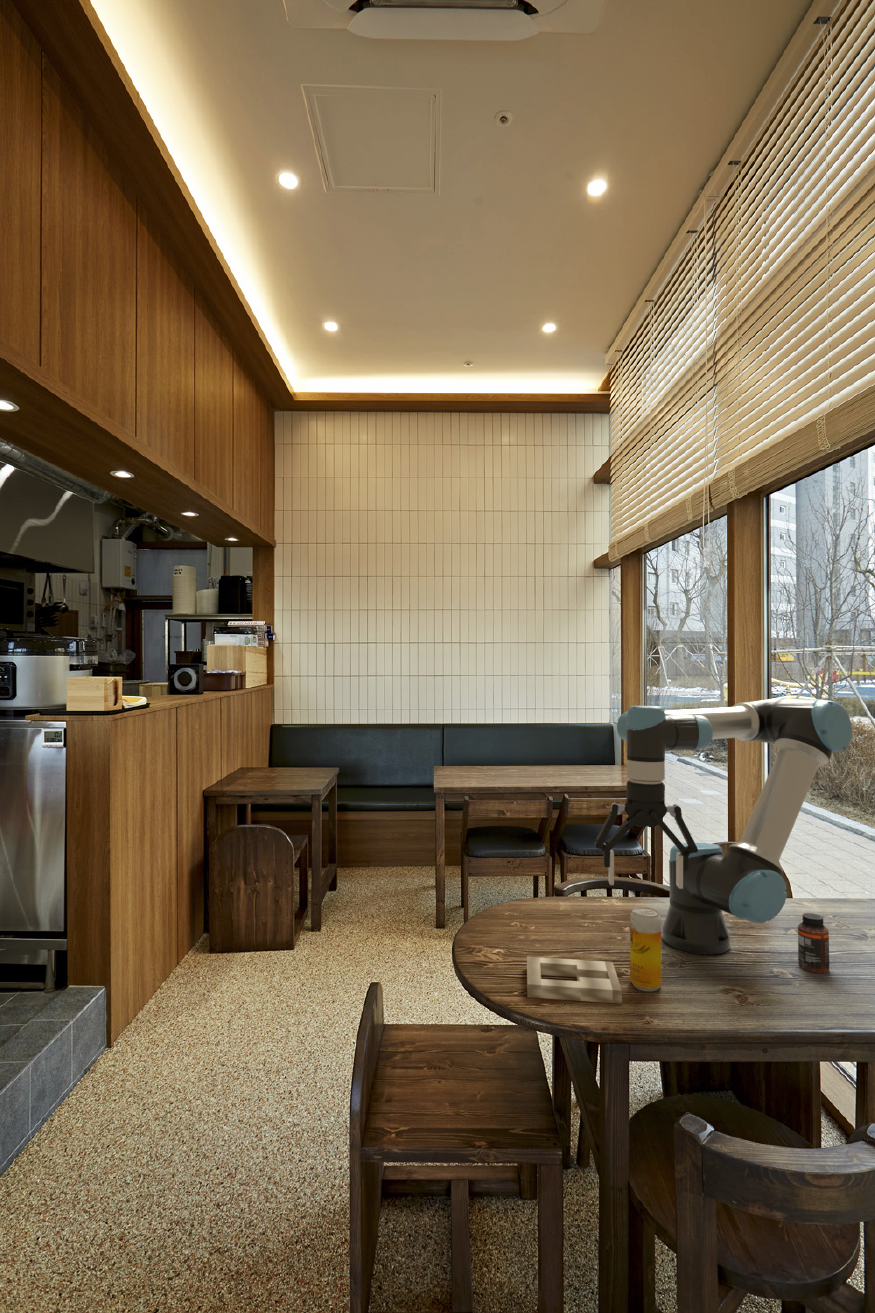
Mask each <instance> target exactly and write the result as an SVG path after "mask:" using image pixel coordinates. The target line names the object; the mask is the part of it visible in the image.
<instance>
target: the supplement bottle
mask: <svg viewBox="0 0 875 1313" xmlns="http://www.w3.org/2000/svg"><path fill="white" fill-rule="evenodd" d="M797 953H798V954H797V955H798V957H797V958H798V966H799V967H800V968H801V969H803V970H805V971H808V972H811V973H815V974H825V973H828V972H829V970H830V931H829V929H828V928H827V927H826V926H825V925H824V917H823V916H822V915H820V914H819V913H814V912H804V913H803V914H802V922H801V923H799V924H798V925H797Z"/></svg>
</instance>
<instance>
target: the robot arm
mask: <svg viewBox="0 0 875 1313" xmlns="http://www.w3.org/2000/svg"><path fill="white" fill-rule="evenodd" d="M616 732H617V734H618V736H619V738H620V739H621V740H622V741H623V742H625V743H626V778H627V779H628V780H627V781H626V801H625V804H619V803H617V802H614V801H613V802H611V803H610V807H609V813H608V815H607V817H606V819H605V821H604V823H603V825H602V826H601V829H600V830H599V832H598V834H597V836H596V838H595V840H594V846H595V848H596V849H599V850H602V851H603V852H602V854H603V857H602V858H603V859H602V864H603V866H604V868H608V876H607V877H608V884H609V886H614V885H615V852H614V850H613V848H614V847H615V846H617V844H618V843H619V842H620V840H622V838H623V837H625V835H626V834H627V833H628V832H629V831H630V830H631V829H632V828H633V827H634V826H637V827H638V828H644V827H648V828H655V827H656V826H659V828H660V829H661V830H662V831H663V832H664V833H665V835H666V836H667V837H668V838H669V840H670V841H671V842H672V843H673V844H674V845H673V846H672V847H671V848H670V851H669V852H670V853H669V860H668V863H669V864H668V865H669V866H668V870H669V907H668V910H667V913H666V916H665V919H664V922H663V924H662V926H661V940H663V942H664V943H666V944H668V945H669V946H670V947H672V948H674V949H678V950H680V951H682V952H687V953H691V954H698V955H720V954H723V953H726V952H728V951H729V950H730V948H731V938H730V932H729V930H728V927H727V924H726V921H725V918H724V915H723V912H724V913H727V914H730V915H731V916H735V918H738V919H739V920H742V921H747V922H750V923H754V924H763V923H766V922H769V921H772V920H773V919H775V918H776V916H778V914H780V912H781V911H782V910H783V908H784V906H785V903H786V900H787V896H788V894H787V891H786V890H787V883H786V882H785V880H784V878H783V873H784V869H783V866H782V865H781V862H780V859H781V857H782V855H783V852H784V850H785V847H786V844H787V843H788V840H789V838H790V835H791V832H792V830H793V828H794V826H795V823H796V821H797V818H798V816H799V814H800V812H801V809H802V806H803V804H804V802H805V799H806V797H807V794H808V792H809V790H810V787H811V786H812V782H813V780H814V778H815V775H816V773H817V771H818V768H820V767H822V766H826V765H828V763H829V762H830V759H831V757H832V754H833V753H842V752H843V751H846V749H847V748H849V746H850V744H851V742H852V738H853V737H852V736H853V724H852V722H851V718H850V715H849V713H848V711H847V710H846V709H845V707H844V706H843V705H841V704H840V703H839V702H836V701H834V700H826V699H822V698H816V699H810V698H809V699H806V698H804V699H803V698H788V697H787V698H786V697H776V698H768V699H761V700H755V701H753V700H752V701H747V702H746V701H744V702H738V703H735V704H734V705H732V706H727V707H707V708H706V707H705V708H691V709H690V708H689V709H687V708H685V709H670V710H669V709H668V710H667V709H666V710H665V708H664V707H663V706H660V705H659V706H657V705H632V706H630V707H628V709H627V711H625V712H623V713H622V714H621V715H620V716H619V717H618V719H617V723H616ZM719 739H721V740H722V739H737V740H738V741H742V742H750V741H751V742H752V741H753V742H761V743H767V744H773V745H775V747H776V749H777V751H778V753H777V755H776V757H775V759H774V762H773V763H772V766H771V768H770V771H769V773H768V776H767V777H766V780H765V782H764V785H763V787H762V789H761V791H760V794H759V796H758V798H757V800H756V803H755V806H754V807H753V809H752V812H751V815H750V816H749V819H748V821H747V824H746V826H745V828H744V830H743V833H742V835H741V837H740V840H739V842H736V843H733V844H730V845H729V846H728V849H727V851H726V852H725V855H723V853H724V852H723V848H722V847H721V845H719V844H715V843H707V842H695V840H694V838H693V837H692V835H691V832H690V831H689V828H688V827H687V825H686V823H685V821H684V819H683V815H682V814H683V813H682V808H681V806H679V805H678V804H675V803H674V804H673V805H671V806H670V805H669V806H667V805H666V802H665V801H666V798H665V797H666V796H665V794H666V787H665V784H664V782H663V781H664V780H665V779H666V774H665V772H666V771H665V764H666V762H665V761H666V752H670V751H671V752H672V751H673V752H674V751H692V752H694V751H698V750H703V749H706V748H707V747H709V745H711V742H712V740H719ZM622 812H624V813H626V815H627V817H626V818H625V819H624V821H623V823H621V824H620V826H619V827H618V828H617V829H616V830H615V831H614V832H613V833H612V834H611V836H610V837H609V838H608V839H607V837H608V835H609V833H610V831H611V830H612V828H613V825H614V824H615V821H616V820H617V818H618V816H620V815H621V814H622ZM667 813H669V815H670V816H671V817H672V818H673V819H674V820H675V822H676V824H677V826H678V828H679V831H680V833H681V834H682V837H683V838H684V840H685V842H683V843H682V842H681V841H680V839H679V838H678V837H677V835H676V834H674V832H673V831H672V830H671V829H670V827H668V825H667V824H666V823H665V821H664V820H663V819H664V817H665V816H666V815H667ZM606 839H607V840H606Z"/></svg>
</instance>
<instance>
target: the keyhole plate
mask: <svg viewBox="0 0 875 1313" xmlns="http://www.w3.org/2000/svg"><path fill="white" fill-rule="evenodd" d="M613 962H614V961H606V960H605V961H603V960H602V961H601V960H590V959H589V960H587V959H571V958H557V957H556V958H555V957H554V958H553V957H542V956H541V957H538V956H526V983H527V984H526V988H527V990H526V991H527V998H534V999H535V998H536V999H549V1000H563V1001H564V1000H565V1001H577V1002H579V1001H580V1002H589V1003H590V1002H593V1003H603V1004H604V1003H607V1004H621V1005H622V1004H623V1000H622V998H623V997H622V996H623V994H622V993H623V992H622V988H621V987H622V986H621V985H620V981H619V978H618V975H617V971H616V969H615V965H614V963H613ZM542 976H555V977H568V978H569V977H570V978H576V980H563V979H548V978H542Z"/></svg>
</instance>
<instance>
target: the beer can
mask: <svg viewBox="0 0 875 1313" xmlns="http://www.w3.org/2000/svg"><path fill="white" fill-rule="evenodd" d="M629 917H630V918H629V919H630V920H629V921H630V922H629V924H630V925H629V926H630V927H629V929H630V930H629V932H630V933H629V934H630V937H629V946H630V947H629V949H630V950H629V951H630V953H629V955H630V956H629V962H630V963H629V968H630V970H629V971H630V972H629V980H630V982H631V984H632V985H633V987H634V988H636V989H638V990H639V991H643V992H656V991H657V990H659V988H660V987H661V986H662V917H661V915H660V912H659V911H658V910H657V909H655V908H651V907H645V906H644V907H643V906H639V907H638V906H637V907H633V908H632V910H631V913H630V915H629Z"/></svg>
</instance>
